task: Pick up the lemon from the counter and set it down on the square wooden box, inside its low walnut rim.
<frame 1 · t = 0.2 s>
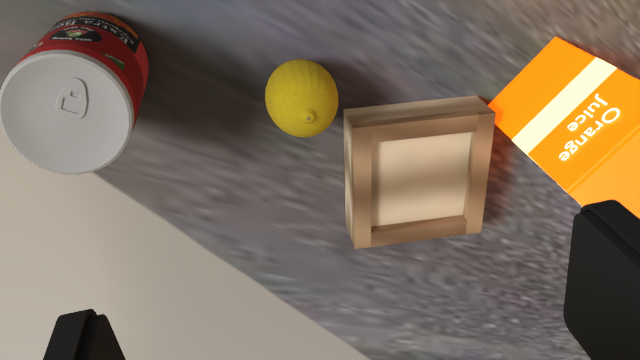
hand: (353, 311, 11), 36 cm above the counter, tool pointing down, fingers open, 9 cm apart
square wooden box: (408, 162, 52), on the counter
canned food: (98, 60, 43), on the counter
orange juice: (541, 98, 51), on the counter
lemon: (294, 79, 47), on the counter
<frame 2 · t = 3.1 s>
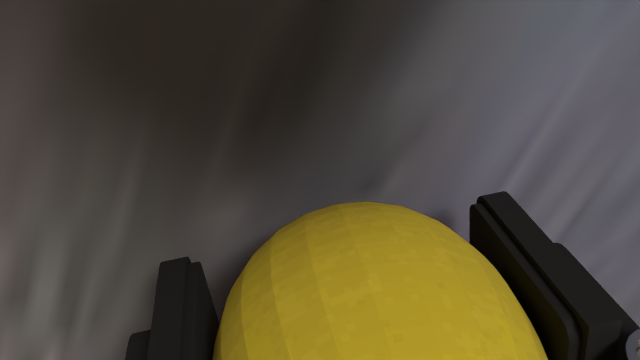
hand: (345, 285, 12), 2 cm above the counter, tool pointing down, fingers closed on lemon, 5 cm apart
lemon: (330, 238, 13), on the counter, touching gripper
when the fingers open (6 cm above the counter, at t = 7.9 s): lemon drops 1 cm, resting on square wooden box.
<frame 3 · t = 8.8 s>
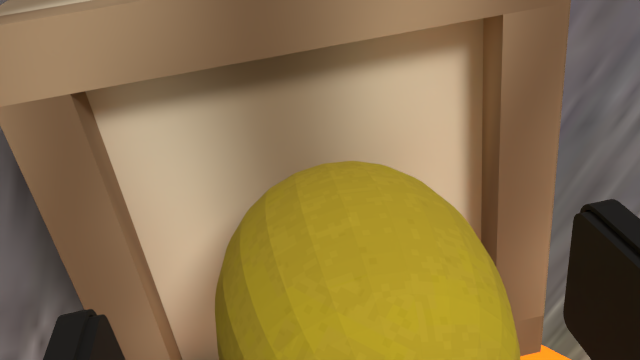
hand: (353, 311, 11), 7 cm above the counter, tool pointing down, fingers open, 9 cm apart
square wooden box: (300, 159, 17), on the counter
lemon: (320, 202, 15), point 3 cm above the counter, touching square wooden box
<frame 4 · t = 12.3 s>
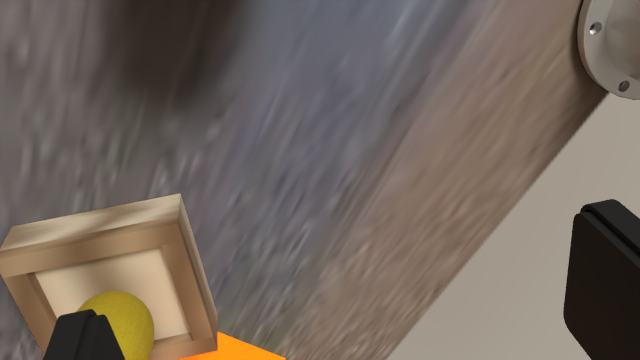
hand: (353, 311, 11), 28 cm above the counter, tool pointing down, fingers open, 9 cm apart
square wooden box: (123, 274, 44), on the counter
lemon: (119, 296, 41), point 3 cm above the counter, touching square wooden box
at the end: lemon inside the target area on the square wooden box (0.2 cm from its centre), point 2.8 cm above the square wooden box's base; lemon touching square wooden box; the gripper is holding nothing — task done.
